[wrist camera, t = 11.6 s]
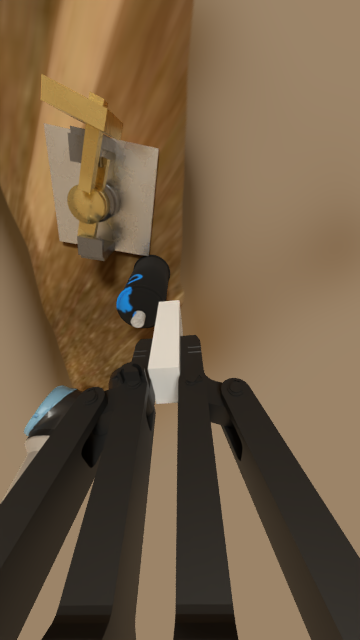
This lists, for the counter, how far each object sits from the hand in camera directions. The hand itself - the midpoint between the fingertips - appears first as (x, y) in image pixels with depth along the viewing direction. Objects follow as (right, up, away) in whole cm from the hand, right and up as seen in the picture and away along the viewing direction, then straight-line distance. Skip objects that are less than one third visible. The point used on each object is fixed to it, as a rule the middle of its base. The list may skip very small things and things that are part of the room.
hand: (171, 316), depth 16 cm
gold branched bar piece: (-12, +21, +17) cm, 30 cm away
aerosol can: (-6, +11, +32) cm, 34 cm away
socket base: (-13, +22, +24) cm, 35 cm away
